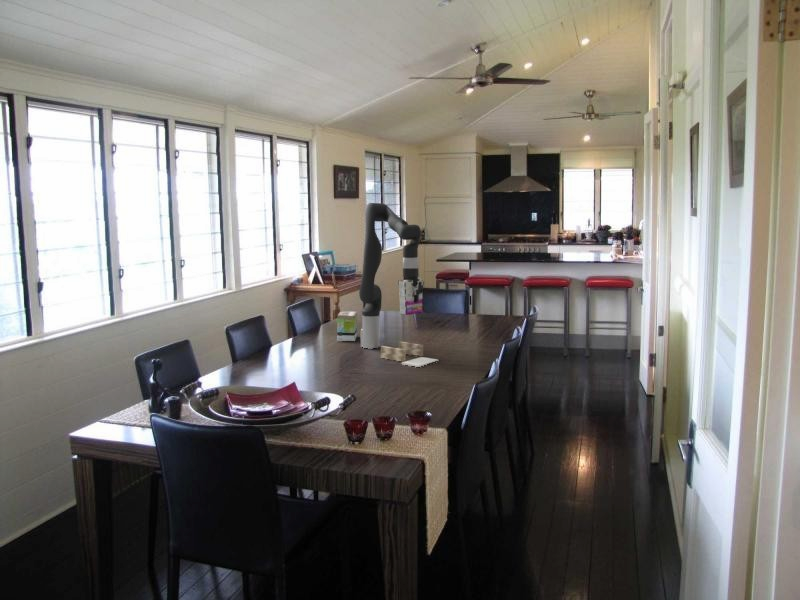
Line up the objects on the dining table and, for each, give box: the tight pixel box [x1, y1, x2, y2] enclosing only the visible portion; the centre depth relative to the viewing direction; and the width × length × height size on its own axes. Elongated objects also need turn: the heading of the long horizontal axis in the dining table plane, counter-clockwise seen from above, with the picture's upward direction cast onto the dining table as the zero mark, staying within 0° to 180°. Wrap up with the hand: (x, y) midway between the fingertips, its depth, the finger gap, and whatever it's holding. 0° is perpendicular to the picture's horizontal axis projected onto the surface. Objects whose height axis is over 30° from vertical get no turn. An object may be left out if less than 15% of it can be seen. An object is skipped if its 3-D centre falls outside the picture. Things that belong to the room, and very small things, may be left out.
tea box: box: [336, 311, 358, 342], centre depth 379 cm, size 15×10×15 cm
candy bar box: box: [398, 278, 424, 316], centre depth 326 cm, size 11×5×16 cm, turn 130°
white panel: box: [400, 356, 439, 368], centre depth 323 cm, size 10×16×1 cm, turn 142°
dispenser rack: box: [380, 341, 424, 363], centre depth 335 cm, size 14×15×6 cm
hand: (411, 302), depth 326 cm, fingers closed on candy bar box, 5 cm apart
